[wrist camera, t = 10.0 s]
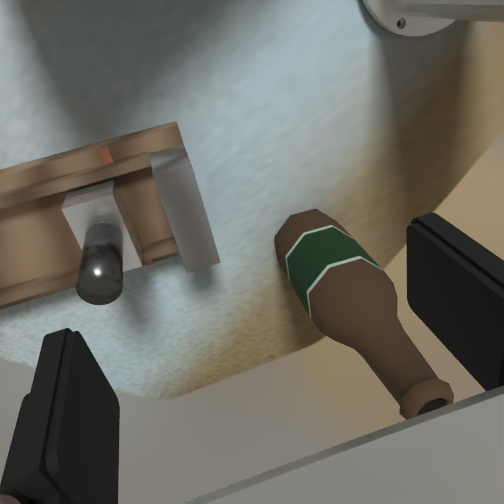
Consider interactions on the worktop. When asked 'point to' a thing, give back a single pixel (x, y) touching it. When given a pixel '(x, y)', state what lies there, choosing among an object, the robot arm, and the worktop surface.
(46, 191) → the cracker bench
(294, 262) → the beer bottle
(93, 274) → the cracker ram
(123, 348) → the worktop surface
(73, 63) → the worktop surface
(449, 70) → the worktop surface
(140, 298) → the worktop surface
